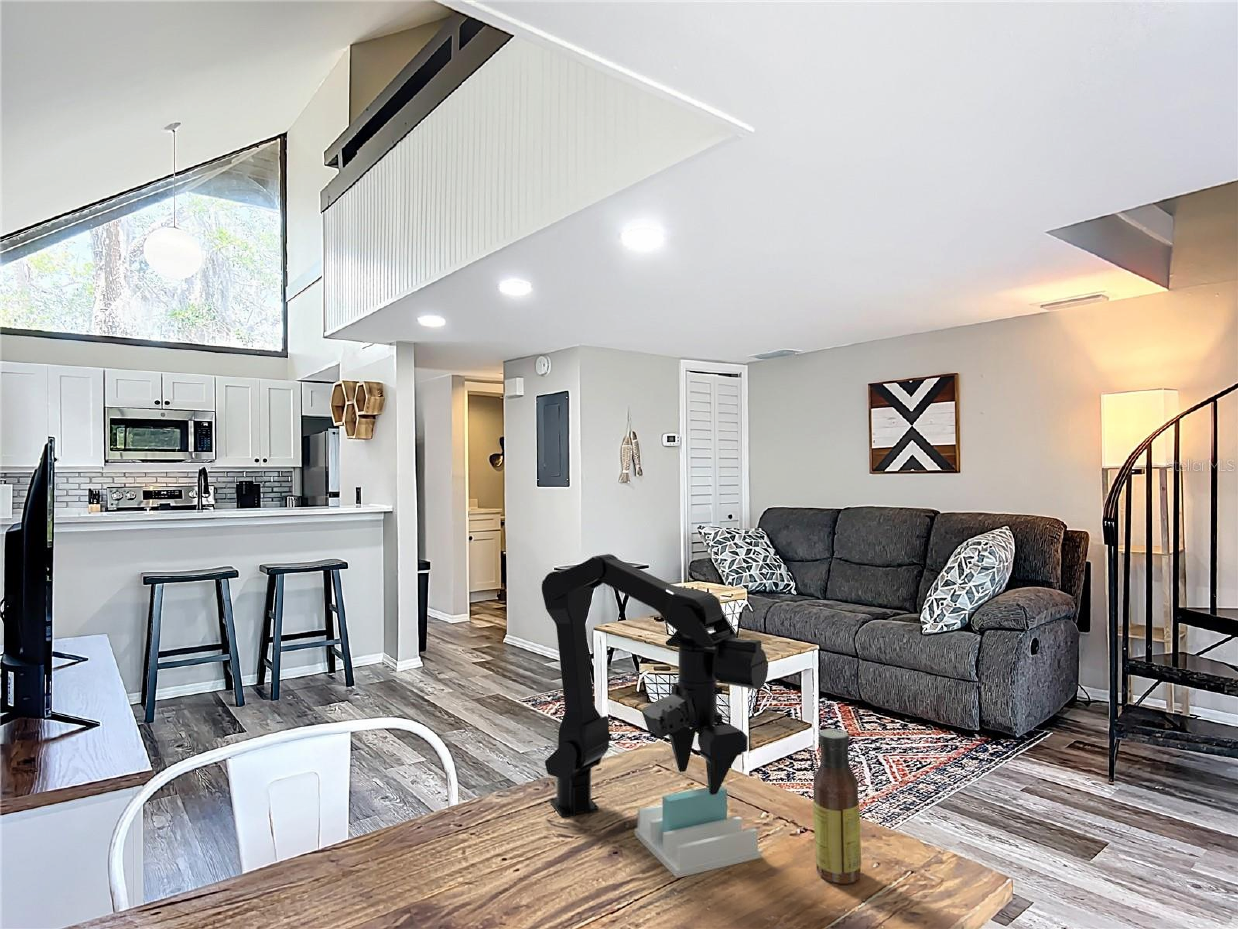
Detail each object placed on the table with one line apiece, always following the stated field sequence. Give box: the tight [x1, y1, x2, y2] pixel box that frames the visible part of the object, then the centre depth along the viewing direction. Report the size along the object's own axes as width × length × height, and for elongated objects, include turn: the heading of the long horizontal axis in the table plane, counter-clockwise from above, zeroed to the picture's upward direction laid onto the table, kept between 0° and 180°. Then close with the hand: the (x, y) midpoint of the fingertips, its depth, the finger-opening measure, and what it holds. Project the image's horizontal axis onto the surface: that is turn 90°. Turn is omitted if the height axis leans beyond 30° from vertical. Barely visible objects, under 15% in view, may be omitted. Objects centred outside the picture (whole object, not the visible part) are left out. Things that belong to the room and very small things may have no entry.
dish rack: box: [634, 803, 762, 879], centre depth 116 cm, size 14×14×4 cm
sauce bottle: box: [813, 728, 862, 885], centre depth 108 cm, size 6×6×20 cm
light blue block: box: [662, 785, 728, 843], centre depth 116 cm, size 2×10×7 cm, turn 115°
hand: (697, 782), depth 116 cm, fingers open, 9 cm apart
